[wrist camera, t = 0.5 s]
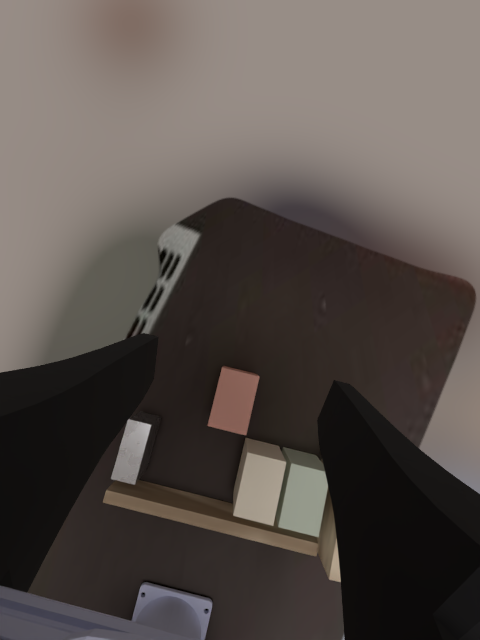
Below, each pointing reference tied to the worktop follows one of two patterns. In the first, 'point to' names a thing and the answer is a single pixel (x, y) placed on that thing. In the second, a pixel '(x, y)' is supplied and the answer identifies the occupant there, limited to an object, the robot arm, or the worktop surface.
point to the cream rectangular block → (258, 482)
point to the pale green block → (302, 493)
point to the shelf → (227, 519)
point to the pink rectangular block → (233, 400)
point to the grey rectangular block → (136, 447)
